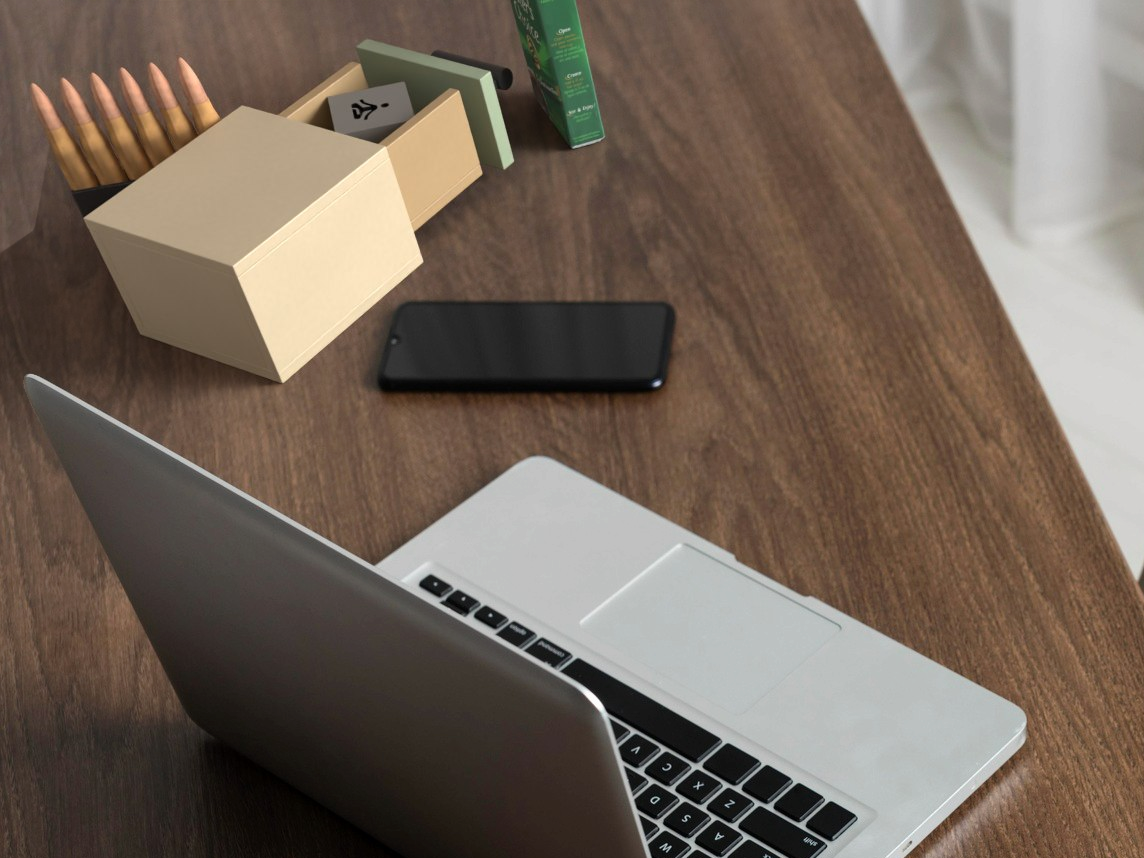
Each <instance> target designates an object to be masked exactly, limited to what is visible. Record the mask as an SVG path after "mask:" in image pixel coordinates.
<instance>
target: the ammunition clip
mask: <svg viewBox="0 0 1144 858" xmlns="http://www.w3.org/2000/svg"><path fill="white" fill-rule="evenodd" d="M176 69H177V70H176V71H177V75H178V79H179V83H180V86H181V89H182V92H183V94H184V97H185V99H186V101H187V105H188V107H189V110H190V113H191V115H192V119H193V122H192V121H191V119H190V117H189V116H188V115H187V113H186V112H185V109H184V108H183V106H182V104H181V102H180V101H179V99H178V97H177V95H176V92H175V91H174V89H173V87H172V86H171V84H170V82H169V81H168V79H167V78H166V76H165V74H163V72H162V70H160V69H159V68H158V67H157V65H156V64H154V63H153V62H151V61H148V63H147V74H148V78H149V83H150V87H151V89H152V93H153V96H154V98H155V101H156V103H157V105H158V107H159V111H160V113H161V116H162V118H163V121H164V125H165V127H164V125H163V124H162V122H161V121H160V119H159V118H158V117H157V116H156V114H155V111H154V109H153V108H152V106H151V105H150V102H149V101H148V99H147V97H146V95H145V93H144V91H143V90H142V89H141V87H140V85H139V84H138V82H137V81H136V79H135V78H134V77H133V76H132V74H130V73H129V71H128V70H126V69H125V68H124V67H122V66H120V67H119V68H118V79H119V84H120V89H121V91H122V94H123V97H124V100H125V102H126V104H127V107H128V110H129V111H130V115H131V118H132V119H133V121H134V124H135V127H136V131H137V132H136V131H135V130H134V128H133V126H132V125H131V124H130V122H129V120H128V119H127V118H126V116H125V113H124V112H123V111H122V109H121V106H120V105H119V103H118V102H117V99H116V97H115V96H114V95H113V93H112V91H111V89H110V88H109V87H108V86H107V84H106V83H105V82H104V81H103V80H102V79H101V78H100V77H99V76H98V75H97V74H96V73H95V72H93V71H92V72H90V74H89V83H90V89H91V92H92V96H93V99H94V102H95V105H96V107H97V109H98V111H99V113H100V116H101V119H102V121H103V123H104V125H105V128H106V130H107V134H108V137H107V136H106V135H105V133H104V132H103V130H102V129H101V128H100V127H99V124H98V122H97V121H96V119H95V117H94V116H93V114H92V113H91V111H90V109H89V107H88V105H87V104H86V102H85V101H84V99H83V97H82V96H81V94H79V92H78V91H77V89H76V88H75V87H74V86H73V85H72V84H71V83H70V82H69V81H68V80H67V79H66V78H65V77H60V78H59V88H60V94H61V97H62V101H63V104H64V106H65V109H66V111H67V114H68V116H69V118H70V120H71V122H72V125H73V127H74V130H75V132H76V134H77V137H78V140H79V141H77V140H76V139H75V137H74V136H73V135H72V133H71V132H70V131H69V129H68V126H67V125H66V123H65V122H64V120H63V119H62V117H61V116H60V113H59V111H58V110H57V108H56V107H55V105H54V103H53V102H52V101H51V99H50V98H49V97H48V95H47V94H46V93H45V92H44V91H43V90H42V88H40V87H39V86H38V85H37V84H36V83H34V82H30V83H29V93H30V98H31V103H32V106H33V108H34V111H35V113H36V116H37V119H38V120H39V123H40V124H41V126H42V129H43V132H44V134H45V136H46V138H47V141H48V143H49V146H50V150H51V152H52V155H53V157H54V159H55V160H56V163H57V164H58V166H59V168H60V170H61V172H62V174H63V176H64V178H65V180H66V182H67V184H68V186H69V187H70V189H71V190H70V193H71V196H72V198H73V200H74V202H75V204H76V206H77V209H78V210H79V211H78V212H79V213H80V215H81V217H82V219H83V218H84V217H85V216H87V215H88V214H90V213H91V212H92V211H94V210H95V209H97V208H98V207H100V206H101V205H102V204H104V203H105V202H107V201H108V200H109V199H111V198H112V197H114V196H115V195H116V194H118V193H119V192H121V191H122V190H123V189H125V188H126V187H128V186H129V185H130V184H132V183H133V182H135V181H136V180H138V179H139V178H140V177H142V176H143V175H145V174H146V173H147V172H149V171H150V170H152V169H153V168H154V167H156V166H157V165H159V164H160V163H161V162H163V161H164V160H166V159H167V158H169V157H170V156H171V155H173V154H174V153H176V152H177V151H178V150H180V149H181V148H183V147H184V146H185V145H187V144H188V143H190V142H191V141H192V140H194V139H195V138H197V137H198V136H199V135H201V134H202V133H204V132H205V131H207V130H208V129H209V128H211V127H212V126H214V125H215V124H216V123H218V122H219V121H221V120H222V118H221V117H220V115H219V114H218V112H217V111H216V109H215V108H214V107H213V104H212V103H211V101H210V98H209V96H207V93H206V91H205V89H204V87H203V85H202V83H201V81H200V79H199V78H198V76H197V74H196V73H195V72H194V70H193V69H192V68H191V66H190V65H189V64H188V62H186V61H185V60H184V59H183V58H182V57H181V56H177V58H176ZM108 138H109V139H108ZM84 224H85V226H86V228H87V230H88V232H89V234H90V236H91V238H92V241H93V243H94V245H95V247H96V249H97V252H98V253H99V256H100V257H101V260H103V261H104V259H103V257H102V255H101V253H100V251H99V249H98V247H97V245H96V243H95V241H94V239H93V237H92V235H91V233H90V231H89V230H90V229H88V227H87V225H86V223H85V222H84Z"/></svg>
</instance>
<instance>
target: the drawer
mask: <svg viewBox="0 0 1144 858" xmlns="http://www.w3.org/2000/svg"><path fill="white" fill-rule="evenodd" d="M355 50H356V53H357V56H358V59H359V62H360V63H359V62H355V61H350V62H348V63H347V64H346V65H344V66H343V67H341V68H340V69H339V70H337V71H336V72H335V73H333V74H332V75H331V76H329V77H328V78H326V79H325V80H324V81H322V82H321V83H320V84H318V85H317V86H315V87H314V88H313V89H312V90H310V91H309V92H307V93H306V94H305V95H303V96H302V97H300V98H299V99H298V100H296V101H295V102H293V103H292V104H291V105H289V106H288V107H286V108H285V109H284V110H282V111H281V112H280V113H278V114H277V115H278V116H281V117H285V118H288V119H292V120H295V121H299V122H302V123H306V124H309V125H313V126H316V127H320V128H323V129H327V130H330V131H334V132H335V129H334V125H333V120H332V115H331V111H330V106H329V101H328V97H329V96H334V95H339V94H344V93H349V92H354V91H359V90H364V89H369V88H374V87H379V86H384V85H389V84H394V83H399V82H405V85H406V88H407V91H408V95H409V98H410V101H411V105H412V108H413V111H414V114H415V116H413V117H412V118H411V119H410V120H408V121H407V122H406V123H404V124H403V125H402V126H401V127H399V128H398V129H397V130H395V131H394V132H393V133H392V134H390V135H389V136H388V137H387V138H385V139H384V140H383V141H381V142H380V143H379V145H383V146H385V147H386V149H387V152H388V155H389V158H390V161H391V164H392V167H393V170H394V173H395V176H396V179H397V182H398V185H399V188H400V191H401V194H402V197H403V200H404V204H405V207H406V210H407V213H408V216H409V219H410V222H411V225H412V228H413V231H414V233H415V232H416V231H417V230H418V229H419V228H421V227H422V226H423V225H424V224H426V223H427V222H428V221H429V220H430V219H431V218H433V217H434V216H435V215H436V214H438V212H440V211H441V210H442V209H443V208H444V207H445V206H447V205H448V204H449V203H450V202H451V201H453V200H454V199H455V198H456V197H457V196H458V195H460V194H461V193H462V192H463V191H464V190H465V189H467V188H468V187H469V186H470V185H472V184H473V183H474V182H475V181H476V180H477V179H479V178H480V177H481V176H482V175H483V170H482V167H481V165H485V166H489V167H492V168H495V169H499V170H503V171H505V170H506V169H507V168H509V166H511V165H512V164H513V163H514V162H515V159H514V156H513V152H512V148H511V144H510V140H509V136H508V133H507V129H506V125H505V122H504V118H503V114H502V109H501V106H500V102H499V98H498V95H497V91H496V90H501V91H508V90H510V89H511V87H512V85H513V82H514V73H513V72H512V70H511V69H510V68H508V67H506V66H501V65H497V64H493V63H491V62H486V61H481V60H478V59H475V58H470V57H467V56H463V55H460V54H456V53H452V52H447V51H445V50H440V49H435V50H434V51H432V53H431V54H426V53H422V52H419V51H414V50H412V49H411V50H410V49H407V48H402V47H399V46H397V45H396V46H395V45H392V44H388V43H384V42H380V41H376V40H372V39H369V38H366V39H365V40H363V41H361V42H360V43H358V44H357V45H356V46H355Z"/></svg>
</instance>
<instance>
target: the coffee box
mask: <svg viewBox="0 0 1144 858" xmlns="http://www.w3.org/2000/svg"><path fill="white" fill-rule="evenodd" d="M509 1H510V4H511V8H512V13H513V18H514V20H515V25H516V28H517V32H518V36H519V40H520V43H521V48H522V51H523V55H524V59H525V62H526V68H527V71H528V75H529V78H530V82H531V87H532V90H533V93H534V98H535V101H536V102H537V103H538V104H539V106H540V107H541V109H542V111H544V113H545V115H546V116H547V117H548V118H549V120H550V121H551V123H552V125H554V127H555V128H556V130H557V131H558V132H559V133H560V136H561V137H562V138H563V140H565V142H566V143H567V145H568V146H569V148H571V149H578V148H582V147H585V146H589V145H593V144H595V143H598V142H599V143H600V142H601V140H603V139H604V138H605V137H606V134H605V129H604V125H603V121H602V116H601V113H600V108H599V102H598V98H597V93H596V89H595V88H596V87H595V83H594V80H593V75H592V71H591V66H590V62H589V57H588V53H587V47H586V44H585V38H584V34H583V30H582V25H581V20H580V15H579V11H578V7H577V2H576V1H577V0H509Z"/></svg>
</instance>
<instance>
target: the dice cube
mask: <svg viewBox="0 0 1144 858" xmlns="http://www.w3.org/2000/svg"><path fill="white" fill-rule="evenodd" d="M328 101H329V106H330V111H331V115H332V120H333V125H334V129H335V132H337V133H341V134H344V135H348V136H351V137H355V138H358V139H362V140H365V141H369V142H372V143H376V144H379V143H380V142H381V141H383V140H384V139H385V138H387V137H388V136H389V135H390V134H392V133H393V132H394V131H395V130H397V129H398V128H399V127H401V126H402V125H403V124H404V123H406V122H407V121H408V120H410V119H411V118H412V117H413V116H415V114H414V111H413V108H412V105H411V101H410V98H409V95H408V91H407V88H406V85H405V82H399V83H394V84H389V85H384V86H379V87H374V88H369V87H368V89H364V90H359V91H354V92H349V93H344V94H339V95H334V96H329V97H328Z"/></svg>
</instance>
